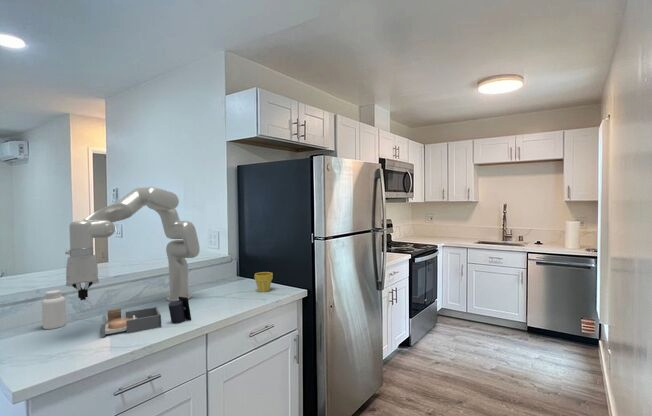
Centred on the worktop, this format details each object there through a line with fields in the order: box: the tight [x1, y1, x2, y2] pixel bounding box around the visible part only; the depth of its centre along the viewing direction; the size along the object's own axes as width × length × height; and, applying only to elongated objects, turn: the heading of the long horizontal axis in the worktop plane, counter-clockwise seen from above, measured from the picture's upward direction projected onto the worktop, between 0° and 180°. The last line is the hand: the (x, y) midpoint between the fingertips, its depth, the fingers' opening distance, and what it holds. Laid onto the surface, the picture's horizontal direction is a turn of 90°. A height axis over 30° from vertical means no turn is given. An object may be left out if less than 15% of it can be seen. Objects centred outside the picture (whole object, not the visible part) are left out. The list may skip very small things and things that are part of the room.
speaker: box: [168, 297, 192, 324], centre depth 153 cm, size 8×6×10 cm
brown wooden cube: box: [107, 308, 122, 322], centre depth 155 cm, size 5×5×5 cm
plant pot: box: [254, 271, 274, 293], centre depth 204 cm, size 10×10×10 cm
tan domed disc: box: [107, 317, 130, 329], centre depth 145 cm, size 8×8×2 cm
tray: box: [101, 314, 137, 338], centre depth 145 cm, size 13×14×5 cm
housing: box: [125, 306, 162, 334], centre depth 149 cm, size 12×15×5 cm
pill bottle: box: [41, 289, 67, 330], centre depth 151 cm, size 8×8×15 cm
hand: (83, 299), depth 139 cm, fingers closed
